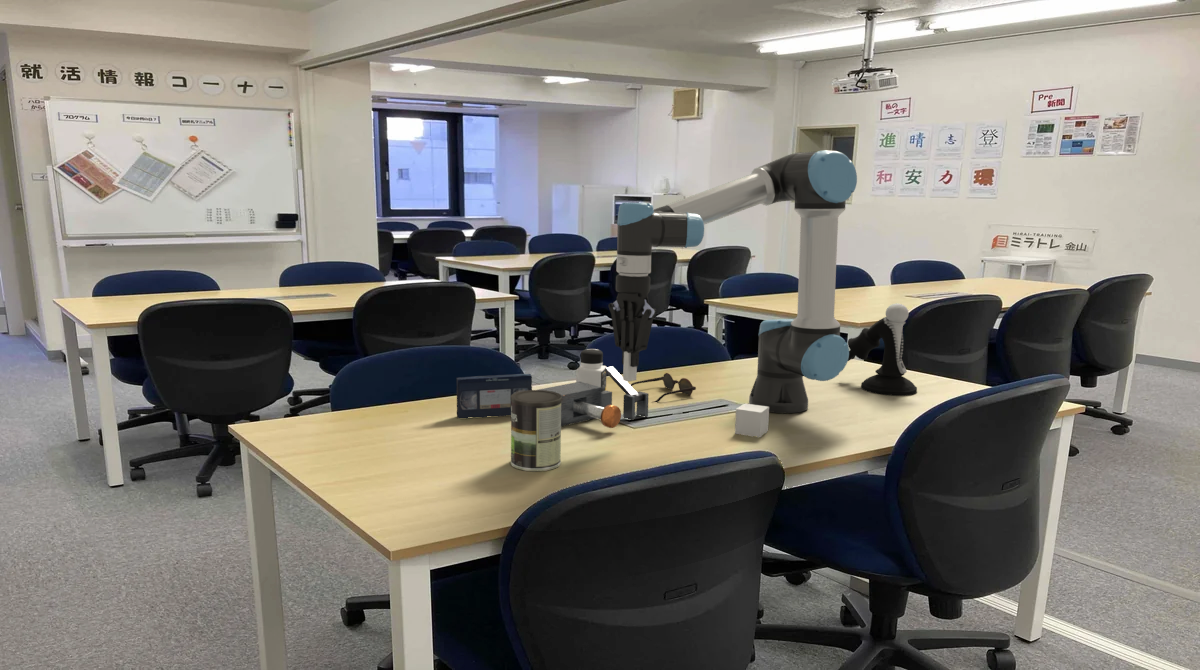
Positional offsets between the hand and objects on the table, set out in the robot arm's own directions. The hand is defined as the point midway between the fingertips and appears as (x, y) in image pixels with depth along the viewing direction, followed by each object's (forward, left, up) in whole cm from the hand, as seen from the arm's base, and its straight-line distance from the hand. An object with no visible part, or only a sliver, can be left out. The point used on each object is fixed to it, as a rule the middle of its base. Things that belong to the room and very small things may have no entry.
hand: (629, 380), depth 182 cm
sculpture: (-10, -91, -14) cm, 93 cm away
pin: (+12, 0, -12) cm, 17 cm away
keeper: (+16, -13, -7) cm, 22 cm away
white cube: (-15, -25, -14) cm, 33 cm away
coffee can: (0, +27, -14) cm, 30 cm away
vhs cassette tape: (+35, +12, -14) cm, 39 cm away
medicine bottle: (+37, -22, -14) cm, 45 cm away
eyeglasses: (+24, -35, -14) cm, 45 cm away
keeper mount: (+16, -13, -13) cm, 25 cm away
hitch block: (+21, 0, -13) cm, 25 cm away
